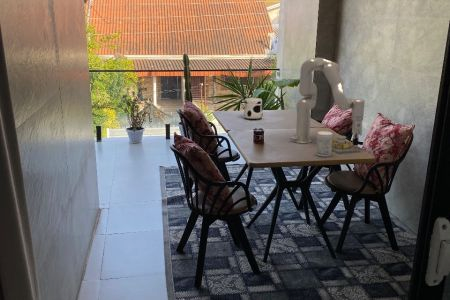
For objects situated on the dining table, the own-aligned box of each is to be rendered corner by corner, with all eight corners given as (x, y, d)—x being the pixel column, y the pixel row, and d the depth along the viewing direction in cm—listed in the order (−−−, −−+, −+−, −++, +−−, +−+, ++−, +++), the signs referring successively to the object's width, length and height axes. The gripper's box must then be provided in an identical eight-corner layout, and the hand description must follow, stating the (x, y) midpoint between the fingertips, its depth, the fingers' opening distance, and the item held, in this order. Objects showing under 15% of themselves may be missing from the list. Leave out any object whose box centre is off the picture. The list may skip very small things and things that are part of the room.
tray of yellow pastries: (337, 153, 286) (338, 140, 283) (322, 146, 304) (323, 133, 302) (359, 152, 290) (360, 139, 287) (343, 144, 308) (344, 132, 306)
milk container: (240, 117, 403) (241, 98, 399) (258, 116, 408) (258, 97, 404) (247, 121, 387) (247, 100, 383) (265, 120, 392) (266, 100, 388)
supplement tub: (321, 152, 290) (322, 130, 286) (334, 154, 283) (335, 132, 279) (313, 155, 283) (314, 132, 279) (326, 158, 277) (327, 135, 273)
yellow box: (337, 149, 289) (338, 142, 288) (328, 145, 300) (328, 138, 299) (360, 147, 294) (360, 140, 293) (349, 143, 305) (350, 136, 304)
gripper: (365, 120, 283) (363, 147, 288) (360, 116, 298) (358, 142, 303) (353, 120, 284) (351, 147, 289) (349, 115, 299) (347, 141, 303)
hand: (355, 144), depth 296 cm, fingers closed
